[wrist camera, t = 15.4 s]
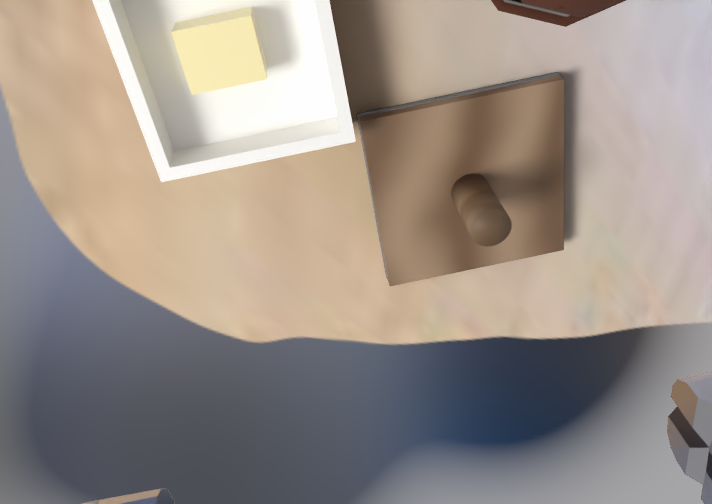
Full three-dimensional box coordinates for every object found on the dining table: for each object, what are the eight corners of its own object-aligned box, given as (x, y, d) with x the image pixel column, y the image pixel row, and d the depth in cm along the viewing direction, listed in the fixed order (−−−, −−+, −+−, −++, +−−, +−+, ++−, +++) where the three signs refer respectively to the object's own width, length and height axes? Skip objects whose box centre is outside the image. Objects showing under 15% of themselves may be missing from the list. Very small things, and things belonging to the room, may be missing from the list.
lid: (559, 75, 42) (597, 107, 37) (559, 244, 49) (591, 289, 44) (358, 117, 42) (370, 155, 37) (388, 280, 49) (401, 329, 44)
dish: (311, -82, 36) (315, -75, 34) (350, 122, 43) (355, 141, 40) (95, -37, 36) (82, -27, 33) (167, 161, 43) (161, 182, 40)
